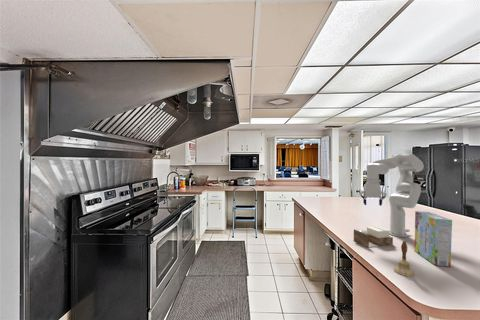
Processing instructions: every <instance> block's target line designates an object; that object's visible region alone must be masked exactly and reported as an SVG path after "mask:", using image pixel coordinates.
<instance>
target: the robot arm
mask: <svg viewBox="0 0 480 320" xmlns="http://www.w3.org/2000/svg"><path fill="white" fill-rule="evenodd" d="M396 168H398V172H399V175H400V176H399V179H398V181H397V184H396V187H395V191H396V192H397V193H392V194H390V195H389V198H388V201H389V206H390V209H389V210H390V213H389V214H390V216H389V217H390V221H389V222H390V223H389V224H390V227H389V236H392V237H394V236H395V237H399V238H407V237H408V236H409V235H408V233H410V229H407V228H406V211H405V209H407V208H408V209H414V208H416V206H417V205H418V201H419V198H420V196H421V192H422V188H421V185H420V184H419V183H417V182H413V181H414V177H413V175H412V174H411V172H415V173H417V172H422V171H423V170H424V168H425V166H424V163H423V161H422V160H421V159H420V158H419V157H417V156H416V155H415V154H413V153H397V154H395V155H392V156H390V157H388V158H383V159H379V160H374V161H372V162H370V163H368V164H367V165H366V182H365V184H364V190H363V191H360V192H359V193H358V194H359V196H360V198H362V199H363V204H364V205H365V206H367V198H378V205H379V206H382V205H383V201H384V200H385V198H387V193H385V192H383V191H382V188H381V183H380V182H382V180H381V179H380V175H385V174H388V172H389V171H390V170H392V169H396ZM404 208H405V209H404Z"/></svg>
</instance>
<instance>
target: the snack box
mask: <svg viewBox="0 0 480 320" xmlns="http://www.w3.org/2000/svg"><path fill="white" fill-rule="evenodd" d="M414 213H415V214H414V215H415V217H414V246H413V247H414V252H416V254H417V255H420V257H422V258H424V259H426V260H427V261H428V262H430V263H431V264H433V265H434V266H439V267H449V268H450V267H452V266H451V265H452V238H453V237H452V236H453V235H452V234H453V233H452V232H453V230H452V229H453V219H450V218H447V217H444V216H442V215H438V214H436V213H433V212H430V211H419V210H416V211H415V212H414Z"/></svg>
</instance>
